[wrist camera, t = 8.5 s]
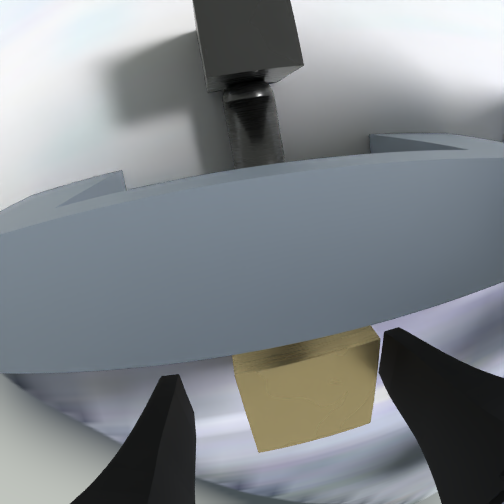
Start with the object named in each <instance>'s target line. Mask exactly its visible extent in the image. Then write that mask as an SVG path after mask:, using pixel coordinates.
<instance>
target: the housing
mask: <svg viewBox="0 0 504 504" xmlns="http://www.w3.org/2000/svg"><path fill="white" fill-rule="evenodd" d="M369 138H370V151H371V154H361V155H349V156H338V157H328V158H318V159H309V160H300V161H292V162H284V163H276V164H269V165H262V166H255V167H248V168H241V169H235V170H229V171H222V172H216V173H211V174H205V175H199V176H194V177H188V178H183V179H178V180H173V181H168V182H163V183H158V184H153V185H148V186H143V187H139V188H134V189H130V190H126V187H125V182H124V178H123V173H122V170H120V171H116V172H112V173H108V174H104V175H100V176H96V177H93V178H89V179H85V180H82V181H78V182H74V183H71V184H67V185H64V186H61V187H57V188H54V189H51V190H47V191H44V192H41V193H38V194H35V195H32V196H29V197H27V198H25V199H23V200H21V201H19V202H17V203H15V204H13V205H11V206H9V207H8V208H6V209H4V210H2V211H0V373H14V374H29V373H69V372H89V371H104V370H117V369H129V368H139V367H149V366H158V365H167V364H175V363H183V362H190V361H197V360H204V359H211V358H218V357H224V356H230V355H236V354H242V353H248V352H253V351H259V350H264V349H269V348H274V347H279V346H284V345H289V344H294V343H299V342H303V341H308V340H312V339H317V338H321V337H325V336H330V335H334V334H338V333H342V332H346V331H350V330H354V329H358V328H362V327H366V326H369V325H373V324H377V323H380V322H384V321H388V320H391V319H395V318H398V317H401V316H405V315H408V314H411V313H415V312H418V311H421V310H424V309H428V308H431V307H434V306H437V305H440V304H443V303H446V302H449V301H452V300H455V299H458V298H461V297H464V296H466V295H469V294H472V293H475V292H478V291H480V290H483V289H486V288H488V287H491V286H494V285H496V284H499V283H501V282H504V142H499V141H493V140H488V139H482V138H476V137H470V136H463V135H456V134H449V133H397V134H370V135H369Z"/></svg>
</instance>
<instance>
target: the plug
mask: <svg viewBox="0 0 504 504" xmlns="http://www.w3.org/2000/svg"><path fill="white" fill-rule="evenodd" d="M193 8H194V16H195V24H196V31H197V37H198V42H199V48H200V54H201V59H202V65H203V70H204V76H205V81H206V86H207V92H213V91H219V90H224V89H225V91H224V94H223V105H224V111H225V116H226V122H227V127H228V132H229V138H230V143H231V149H232V154H233V159H234V165H235V169H241V168H248V167H255V166H262V165H269V164H276V163H284V162H285V160H284V153H283V147H282V141H281V134H280V128H279V122H278V116H277V110H276V104H275V99H274V94H273V91H272V89H271V87H270V86H269V84H268V83H271V82H278V81H280V80H281V79H283V78H284V77H286V76H288V75H289V74H291V73H292V72H294V71H296V70H297V69H299V68H300V67H302V66H304V64H303V58H302V53H301V48H300V43H299V38H298V34H297V29H296V24H295V20H294V15H293V11H292V6H291V2H290V0H193ZM379 349H380V338H379V336H378V335H377V334H376V332H375V331H374V330H373V328H372V327H371V326H370V325H369V326H366V327H362V328H358V329H354V330H350V331H346V332H342V333H338V334H334V335H330V336H325V337H321V338H317V339H312V340H308V341H303V342H299V343H294V344H289V345H284V346H279V347H274V348H269V349H264V350H259V351H253V352H248V353H242V354H236V355H232V358H233V366H234V374H235V378H236V382H237V385H238V389H239V392H240V395H241V398H242V402H243V405H244V408H245V411H246V415H247V418H248V421H249V424H250V427H251V430H252V434H253V437H254V440H255V443H256V446H257V449H258V452H259V453H260V452H265V451H270V450H275V449H280V448H284V447H289V446H293V445H297V444H301V443H305V442H309V441H313V440H317V439H320V438H324V437H327V436H331V435H334V434H338V433H341V432H344V431H347V430H350V429H354V428H357V427H360V426H363V425H365V424H368V423H370V422H371V415H372V409H373V402H374V394H375V387H376V378H377V370H378V360H379Z"/></svg>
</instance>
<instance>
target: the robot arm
mask: <svg viewBox="0 0 504 504" xmlns="http://www.w3.org/2000/svg"><path fill="white" fill-rule="evenodd" d="M379 374H380V376H381V379H382V381H383V383H384V386H385V388H386V390H387V392H388V394H389V396H390V397H391V399H392V401H393V402H394V404H395V406H396V407H397V409H398V410H399V412H400V414H401V415H402V417H403V418H404V420H405V421H406V423H407V425H408V426H409V428H410V429H411V431H412V433H413V434H414V436H415V438H416V439H417V441H418V443H419V445H420V447H421V449H422V452H423V454H424V456H425V458H426V461H427V463H428V465H429V468H430V471H431V473H432V476H433V478H434V481H435V484H436V487H437V490H438V493H439V496H440V499H441V503H442V504H504V378H502V377H499V376H495V375H493V374H490V373H487V372H484V371H482V370H479V369H477V368H474V367H472V366H470V365H468V364H466V363H463V362H461V361H459V360H457V359H455V358H453V357H451V356H449V355H447V354H446V353H444V352H442V351H440V350H438V349H436V348H435V347H433V346H431V345H429V344H428V343H426V342H424V341H422V340H421V339H419V338H417V337H416V336H414V335H412V334H410V333H409V332H407V331H405V330H403V329H401V328H399V327H398V328H395V329H391V330H388V331H385V332H384V338H383V346H382V353H381V360H380V367H379ZM195 460H196V429H195V418H194V411H193V409H192V406H191V404H190V401H189V399H188V396H187V394H186V391H185V389H184V386H183V384H182V381H181V378H180V376H179V374H177V375H168V376H162V377H161V378H160V379H159V381H158V383H157V385H156V387H155V389H154V391H153V393H152V395H151V397H150V399H149V401H148V403H147V405H146V407H145V409H144V410H143V412H142V414H141V416H140V418H139V419H138V421H137V423H136V425H135V426H134V428H133V430H132V431H131V433H130V434H129V436H128V437H127V439H126V441H125V442H124V444H123V445H122V447H121V448H120V450H119V451H118V452H117V454H116V455H115V457H114V458H113V459H112V460H111V462H110V463H109V464H108V466H107V467H106V468H105V469H104V470H103V471H102V473H101V474H100V475H99V476H98V477H97V478H96V479H95V481H94V482H93V483H92V484H91V485H90V486H89V487H88V488H87V489H86V490H85V491H83V492H82V493H81V494H80V495H79V496H78V497H77V498H76V499H75V500H74V501H72V502H71V503H70V504H195Z"/></svg>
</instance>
